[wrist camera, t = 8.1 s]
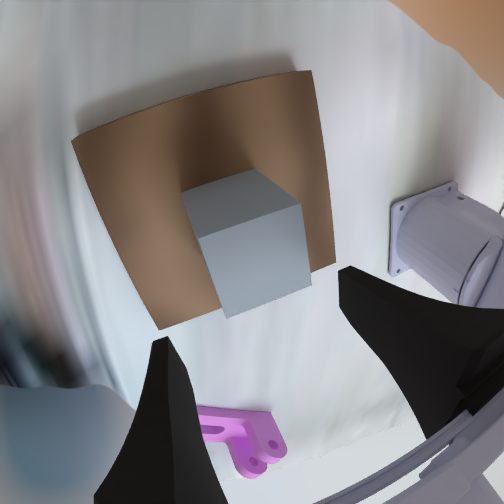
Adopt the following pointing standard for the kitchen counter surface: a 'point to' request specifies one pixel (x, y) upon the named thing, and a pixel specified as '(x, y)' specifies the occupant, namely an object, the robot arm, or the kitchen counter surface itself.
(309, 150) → the walnut board
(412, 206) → the robot arm
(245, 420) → the bracket
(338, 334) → the kitchen counter surface
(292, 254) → the slate block
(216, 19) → the kitchen counter surface
